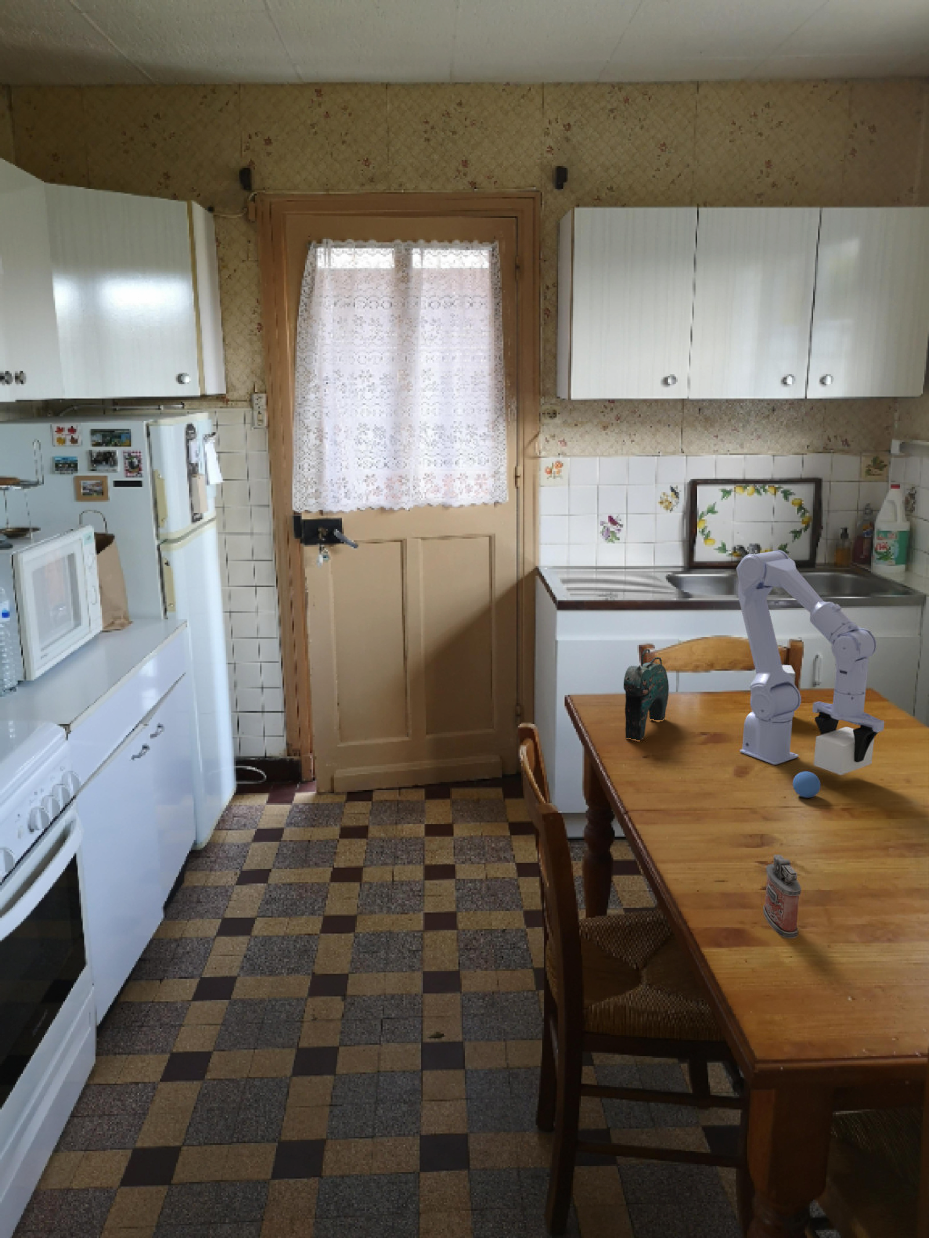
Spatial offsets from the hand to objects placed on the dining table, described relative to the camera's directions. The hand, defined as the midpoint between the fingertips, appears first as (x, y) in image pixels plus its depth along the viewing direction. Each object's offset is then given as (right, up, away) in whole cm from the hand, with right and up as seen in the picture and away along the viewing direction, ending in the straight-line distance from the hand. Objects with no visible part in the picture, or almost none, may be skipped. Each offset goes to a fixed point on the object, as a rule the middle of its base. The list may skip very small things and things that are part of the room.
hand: (843, 755), depth 189 cm
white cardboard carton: (0, -2, 0) cm, 2 cm away
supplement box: (-2, +3, +38) cm, 38 cm away
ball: (-10, -5, -6) cm, 12 cm away
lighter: (-29, -18, -49) cm, 59 cm away
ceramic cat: (-34, +1, +32) cm, 46 cm away
